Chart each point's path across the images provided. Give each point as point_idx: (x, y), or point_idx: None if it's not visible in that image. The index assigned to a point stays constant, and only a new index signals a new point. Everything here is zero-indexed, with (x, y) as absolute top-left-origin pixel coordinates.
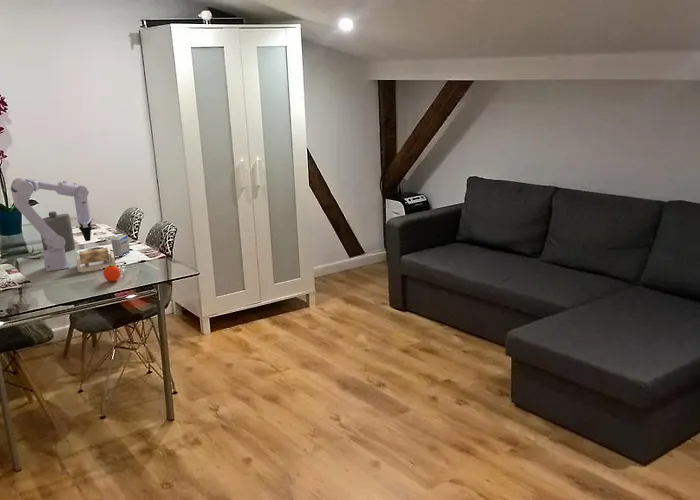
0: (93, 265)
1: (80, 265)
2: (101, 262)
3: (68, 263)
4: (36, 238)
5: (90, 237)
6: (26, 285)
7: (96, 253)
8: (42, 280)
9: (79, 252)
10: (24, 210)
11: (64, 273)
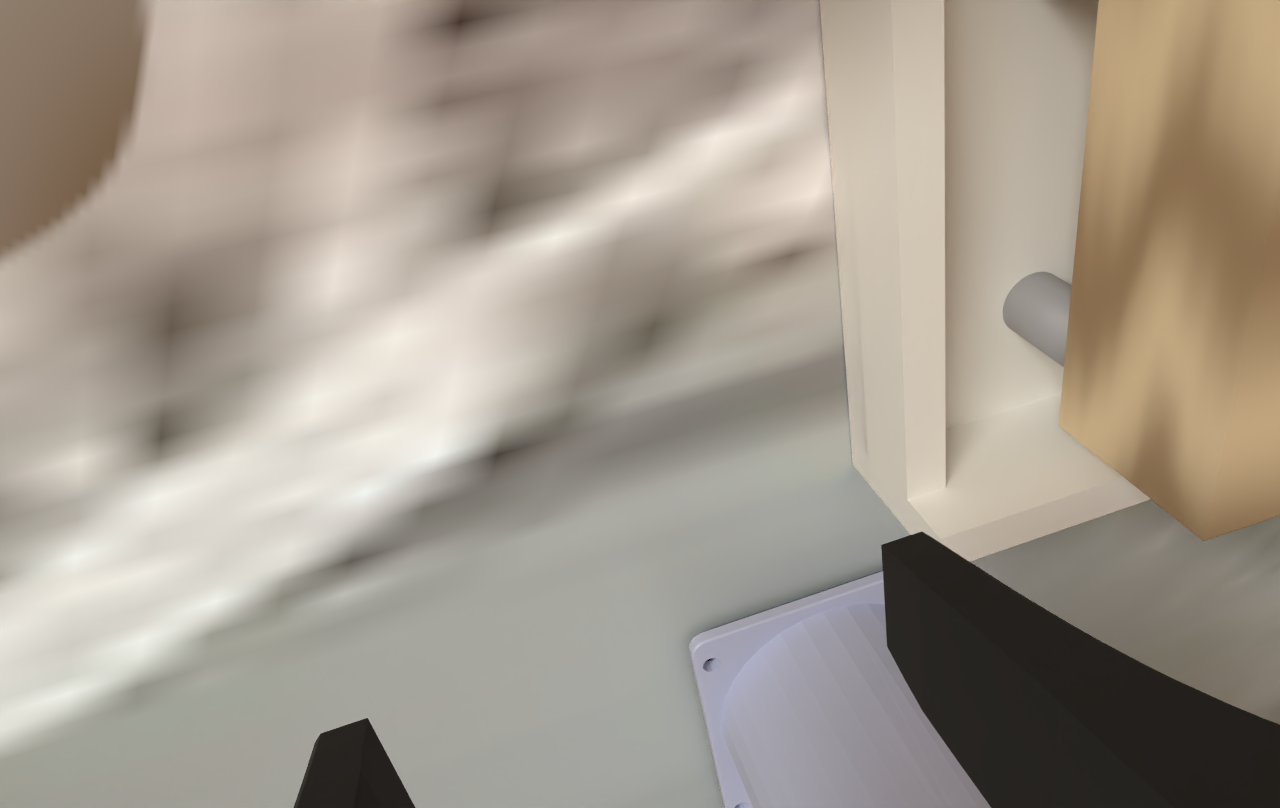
0: None
1: (1003, 405)
2: (1032, 38)
3: (765, 620)
4: None
5: (1001, 582)
6: None
7: None
8: (1206, 667)
9: (1247, 525)
10: None
11: (1113, 527)
